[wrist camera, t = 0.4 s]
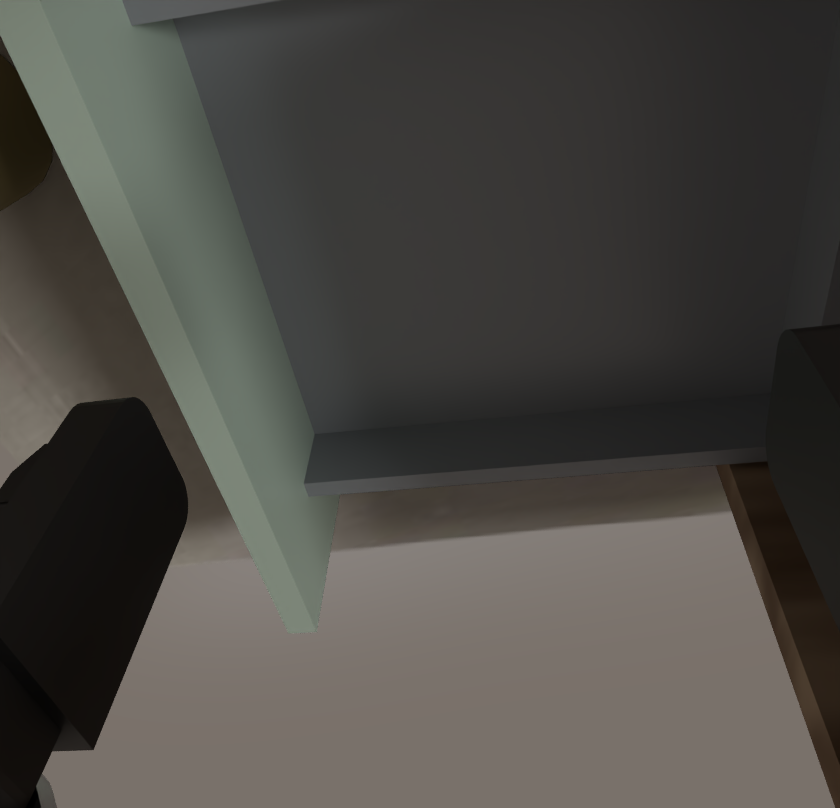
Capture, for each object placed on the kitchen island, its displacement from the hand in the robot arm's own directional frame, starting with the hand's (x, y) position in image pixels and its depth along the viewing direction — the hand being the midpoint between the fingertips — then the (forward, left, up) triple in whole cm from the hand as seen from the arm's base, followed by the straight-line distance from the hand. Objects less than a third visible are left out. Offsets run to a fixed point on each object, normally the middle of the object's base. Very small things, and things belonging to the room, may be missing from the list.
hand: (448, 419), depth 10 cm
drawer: (+8, 0, -18) cm, 20 cm away
